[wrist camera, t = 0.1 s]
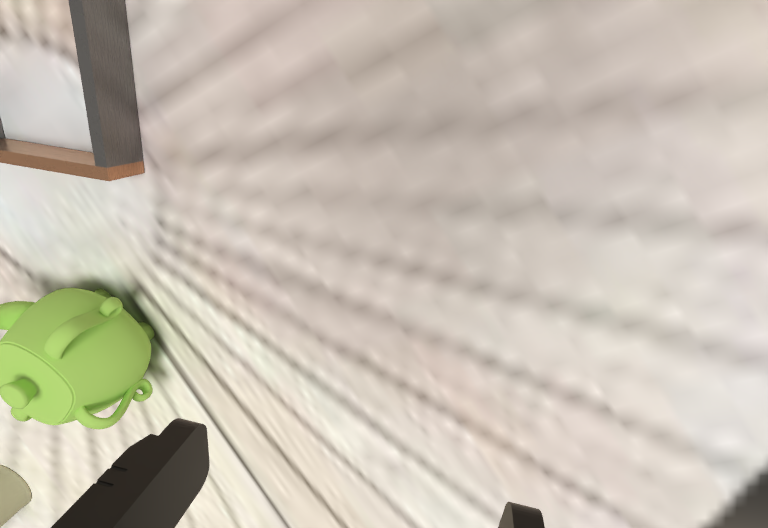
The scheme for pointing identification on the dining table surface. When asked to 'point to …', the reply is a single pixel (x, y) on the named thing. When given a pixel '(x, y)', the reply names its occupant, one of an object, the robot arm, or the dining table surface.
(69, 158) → the bay
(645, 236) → the dining table surface
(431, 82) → the dining table surface
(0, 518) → the can
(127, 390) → the teapot
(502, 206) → the dining table surface
